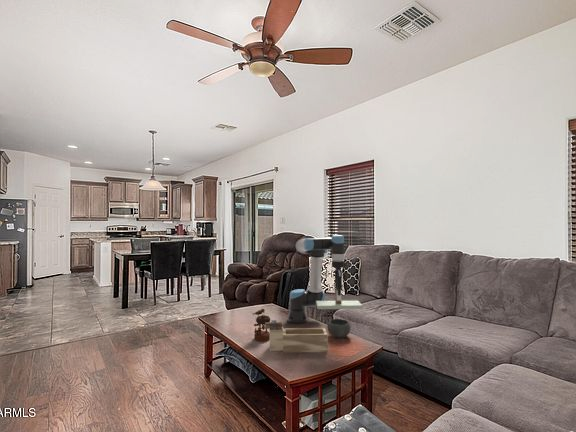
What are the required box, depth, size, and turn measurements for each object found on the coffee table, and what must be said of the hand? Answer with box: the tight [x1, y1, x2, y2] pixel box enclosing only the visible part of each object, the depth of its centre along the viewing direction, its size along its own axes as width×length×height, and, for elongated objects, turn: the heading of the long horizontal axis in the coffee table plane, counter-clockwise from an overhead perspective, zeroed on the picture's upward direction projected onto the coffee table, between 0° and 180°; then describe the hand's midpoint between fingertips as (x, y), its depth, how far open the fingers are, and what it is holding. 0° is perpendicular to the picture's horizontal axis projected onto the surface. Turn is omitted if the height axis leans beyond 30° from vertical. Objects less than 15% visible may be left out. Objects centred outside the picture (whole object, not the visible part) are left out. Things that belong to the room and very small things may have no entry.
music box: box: [252, 308, 271, 343], centre depth 209 cm, size 15×11×20 cm
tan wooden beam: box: [265, 321, 283, 330], centre depth 192 cm, size 2×10×3 cm, turn 91°
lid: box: [316, 287, 363, 310], centre depth 193 cm, size 12×26×11 cm, turn 89°
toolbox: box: [269, 319, 329, 354], centre depth 192 cm, size 12×34×16 cm, turn 91°
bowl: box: [327, 318, 351, 339], centre depth 211 cm, size 15×15×10 cm
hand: (338, 299), depth 193 cm, fingers closed on lid, 4 cm apart
